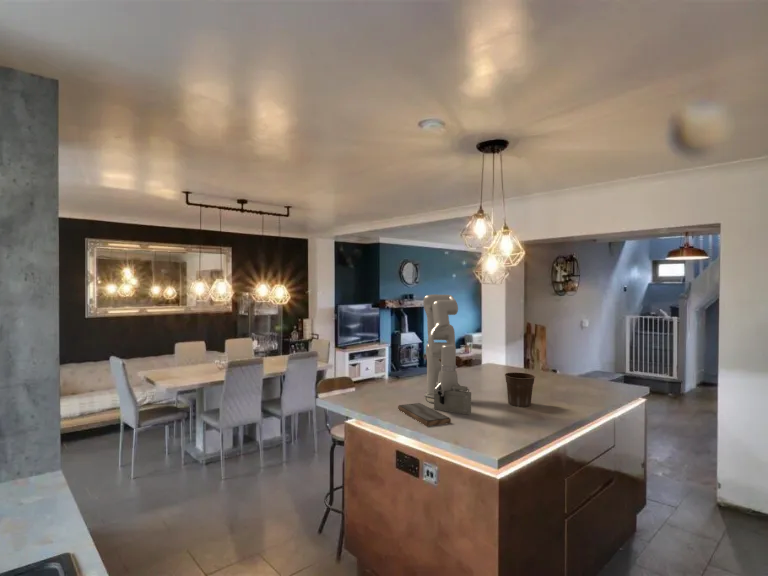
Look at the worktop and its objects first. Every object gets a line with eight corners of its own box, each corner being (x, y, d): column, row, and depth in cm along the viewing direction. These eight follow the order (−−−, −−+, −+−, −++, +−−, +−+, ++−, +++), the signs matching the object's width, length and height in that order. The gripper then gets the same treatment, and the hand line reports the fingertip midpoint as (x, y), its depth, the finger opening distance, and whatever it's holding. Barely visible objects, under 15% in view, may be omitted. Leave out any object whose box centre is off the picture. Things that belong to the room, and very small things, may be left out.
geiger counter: (472, 385, 225) (428, 380, 238) (468, 388, 219) (423, 382, 232) (472, 412, 225) (428, 405, 238) (467, 415, 219) (422, 408, 232)
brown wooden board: (419, 407, 234) (420, 402, 234) (450, 423, 207) (450, 417, 207) (398, 409, 229) (398, 405, 229) (426, 426, 202) (426, 420, 202)
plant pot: (536, 409, 233) (537, 378, 233) (505, 407, 237) (505, 377, 237) (532, 401, 249) (533, 373, 249) (503, 399, 252) (503, 371, 253)
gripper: (458, 366, 236) (457, 399, 236) (430, 368, 229) (429, 402, 228) (466, 368, 229) (466, 403, 229) (437, 370, 222) (437, 406, 222)
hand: (447, 402), depth 229 cm, fingers closed on geiger counter, 6 cm apart
